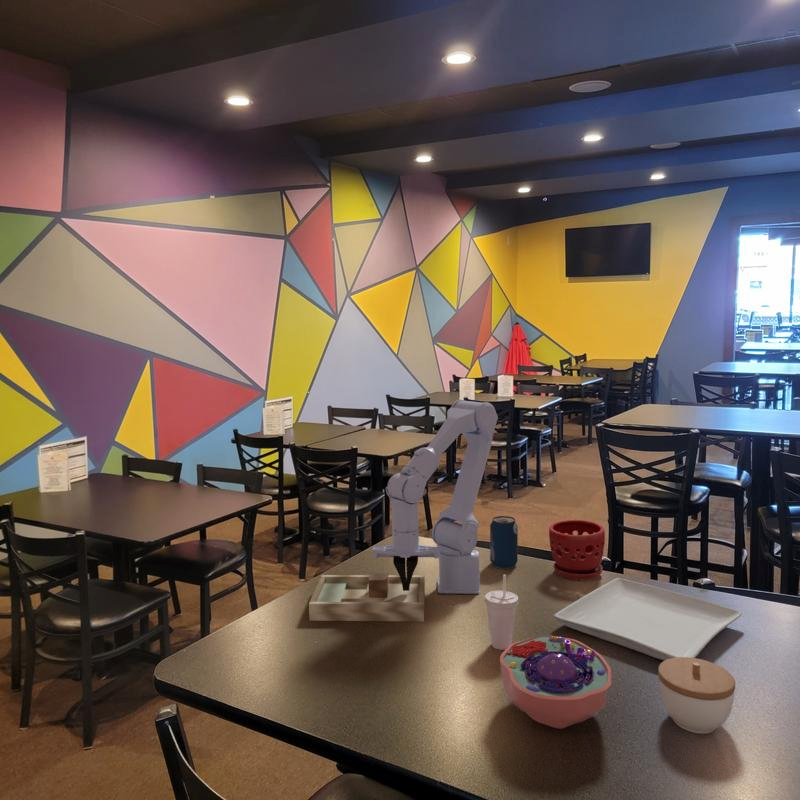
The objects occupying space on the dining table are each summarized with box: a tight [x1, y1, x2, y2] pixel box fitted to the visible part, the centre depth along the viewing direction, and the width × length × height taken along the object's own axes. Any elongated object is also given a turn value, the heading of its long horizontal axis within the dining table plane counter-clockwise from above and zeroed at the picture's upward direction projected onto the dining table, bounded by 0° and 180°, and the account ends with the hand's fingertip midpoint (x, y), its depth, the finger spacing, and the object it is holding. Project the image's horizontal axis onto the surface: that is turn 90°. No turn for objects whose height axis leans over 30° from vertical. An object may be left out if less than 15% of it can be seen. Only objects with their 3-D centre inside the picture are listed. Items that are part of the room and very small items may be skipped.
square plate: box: [553, 577, 743, 662], centre depth 133 cm, size 27×27×4 cm
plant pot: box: [548, 519, 606, 581], centre depth 162 cm, size 13×13×12 cm
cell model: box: [499, 635, 612, 729], centre depth 104 cm, size 17×20×11 cm
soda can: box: [489, 515, 519, 570], centre depth 169 cm, size 7×7×12 cm
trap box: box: [308, 574, 426, 622], centre depth 146 cm, size 24×16×4 cm, turn 87°
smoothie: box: [484, 573, 519, 651], centre depth 126 cm, size 6×6×14 cm
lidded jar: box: [657, 657, 736, 735], centre depth 101 cm, size 11×11×9 cm
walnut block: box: [369, 572, 389, 598], centre depth 145 cm, size 4×4×4 cm
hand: (406, 588), depth 145 cm, fingers closed
